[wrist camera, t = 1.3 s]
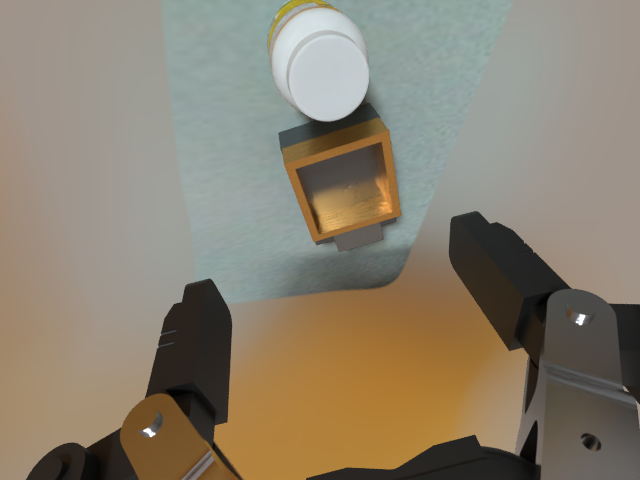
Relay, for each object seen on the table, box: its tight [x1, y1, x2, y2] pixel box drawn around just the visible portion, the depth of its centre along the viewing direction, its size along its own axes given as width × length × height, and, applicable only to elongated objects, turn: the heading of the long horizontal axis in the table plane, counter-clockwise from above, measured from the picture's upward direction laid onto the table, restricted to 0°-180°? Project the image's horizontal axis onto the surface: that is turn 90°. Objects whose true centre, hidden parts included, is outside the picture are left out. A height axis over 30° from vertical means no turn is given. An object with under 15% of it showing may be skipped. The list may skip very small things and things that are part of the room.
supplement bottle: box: [268, 0, 369, 121], centre depth 20 cm, size 5×5×10 cm
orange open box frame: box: [279, 103, 401, 252], centre depth 29 cm, size 10×8×6 cm
